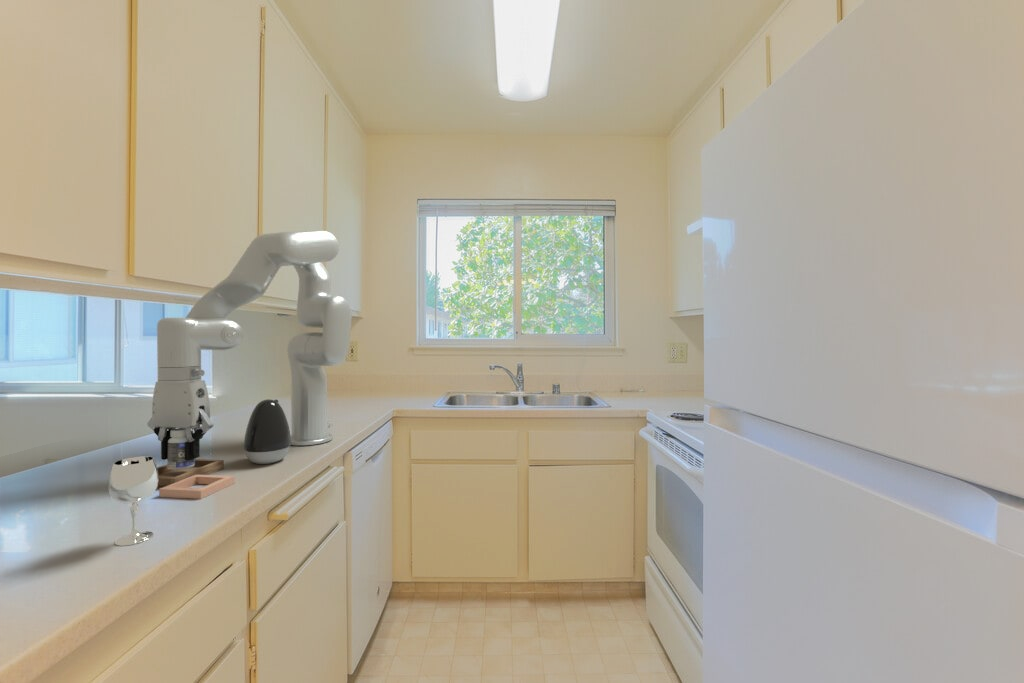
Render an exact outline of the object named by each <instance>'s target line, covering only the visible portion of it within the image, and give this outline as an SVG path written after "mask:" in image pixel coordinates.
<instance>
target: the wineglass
mask: <svg viewBox="0 0 1024 683" xmlns="http://www.w3.org/2000/svg"><path fill="white" fill-rule="evenodd" d="M157 467H158V466H157V463H156V460H155V458H154V457H153V456H150V455H149V456H145V455H144V456H143V455H141V456H134V457H133V456H132V457H126V458H123V459H120V460H116V461H114V462H113V464H112V467H111V471H110V475H109V480H108V492H109V496H110V497H111V499H112V500H113V501H115V502H118V503H121V504H131V506H130V508H129V512H130V514H131V518H132V529H131V532H130V533H129V534H126V535H123V536H121V537H119V538H118V539H116V540H115V541H114V545H115V546H121V547H124V546H125V547H126V546H132V545H136V544H139V543H143V542H145V541H146V542H147V540H149V539H151V538H153V537H154V532H152V531H148V530H146V531H145V530H144V531H139V529H138V526H137V520H138V513H139V509H140V507H139V504H138V503H139V502H141V501H145V500H146V499H148V498H149V497H151V496H152V495H153V494H154V493H155V492H156V490H157V489H158V488H157V486H158V481H159V475H158V470H157Z"/></svg>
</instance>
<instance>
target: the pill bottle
mask: <svg viewBox="0 0 1024 683" xmlns="http://www.w3.org/2000/svg"><path fill="white" fill-rule="evenodd" d="M192 431H193V432H194V429H192ZM170 437H172V438H170V439H169V440H168V459H167V463H166V464H167V468H168V469H169V470H183V469H187V468H191V467H193V466H194V465H195V459H196V458H195V459H192V460H189V461H186V460H185V442H188V440H187V436H186V432H185V428H176V429H172V430H171V431H170Z"/></svg>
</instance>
